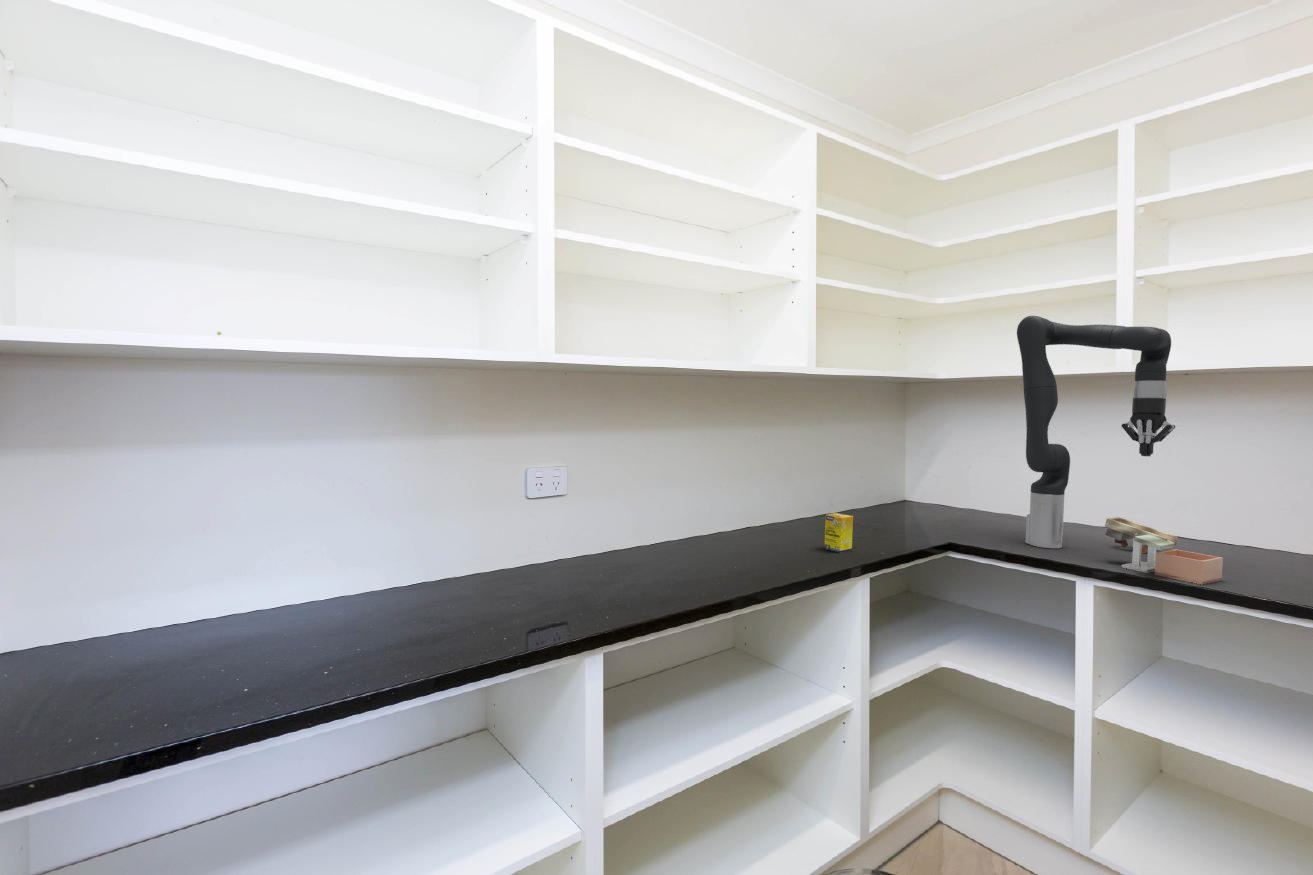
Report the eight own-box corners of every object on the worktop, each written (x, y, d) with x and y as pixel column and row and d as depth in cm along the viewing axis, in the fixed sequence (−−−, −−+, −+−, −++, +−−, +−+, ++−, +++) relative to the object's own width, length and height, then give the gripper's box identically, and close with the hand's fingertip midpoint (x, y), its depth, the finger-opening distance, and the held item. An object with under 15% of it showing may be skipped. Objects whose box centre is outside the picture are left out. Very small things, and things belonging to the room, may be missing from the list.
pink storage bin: (1154, 574, 162) (1155, 552, 162) (1174, 570, 166) (1175, 549, 166) (1202, 584, 153) (1203, 561, 152) (1221, 580, 157) (1222, 557, 157)
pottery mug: (1134, 555, 186) (1120, 530, 189) (1117, 562, 194) (1104, 538, 198) (1173, 546, 186) (1158, 521, 189) (1154, 553, 194) (1140, 529, 198)
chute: (1088, 535, 172) (1093, 520, 171) (1114, 532, 178) (1118, 517, 177) (1155, 561, 157) (1161, 544, 156) (1181, 556, 163) (1187, 540, 162)
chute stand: (1121, 567, 169) (1123, 531, 168) (1141, 563, 173) (1143, 528, 173) (1146, 573, 163) (1148, 535, 163) (1166, 569, 168) (1168, 532, 168)
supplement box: (824, 549, 186) (825, 514, 185) (836, 547, 189) (837, 512, 189) (840, 553, 181) (841, 517, 180) (852, 550, 184) (853, 515, 184)
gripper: (1116, 396, 179) (1113, 454, 180) (1169, 396, 167) (1166, 458, 168) (1130, 397, 182) (1127, 454, 183) (1183, 396, 170) (1180, 457, 171)
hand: (1146, 456), depth 175 cm, fingers closed
